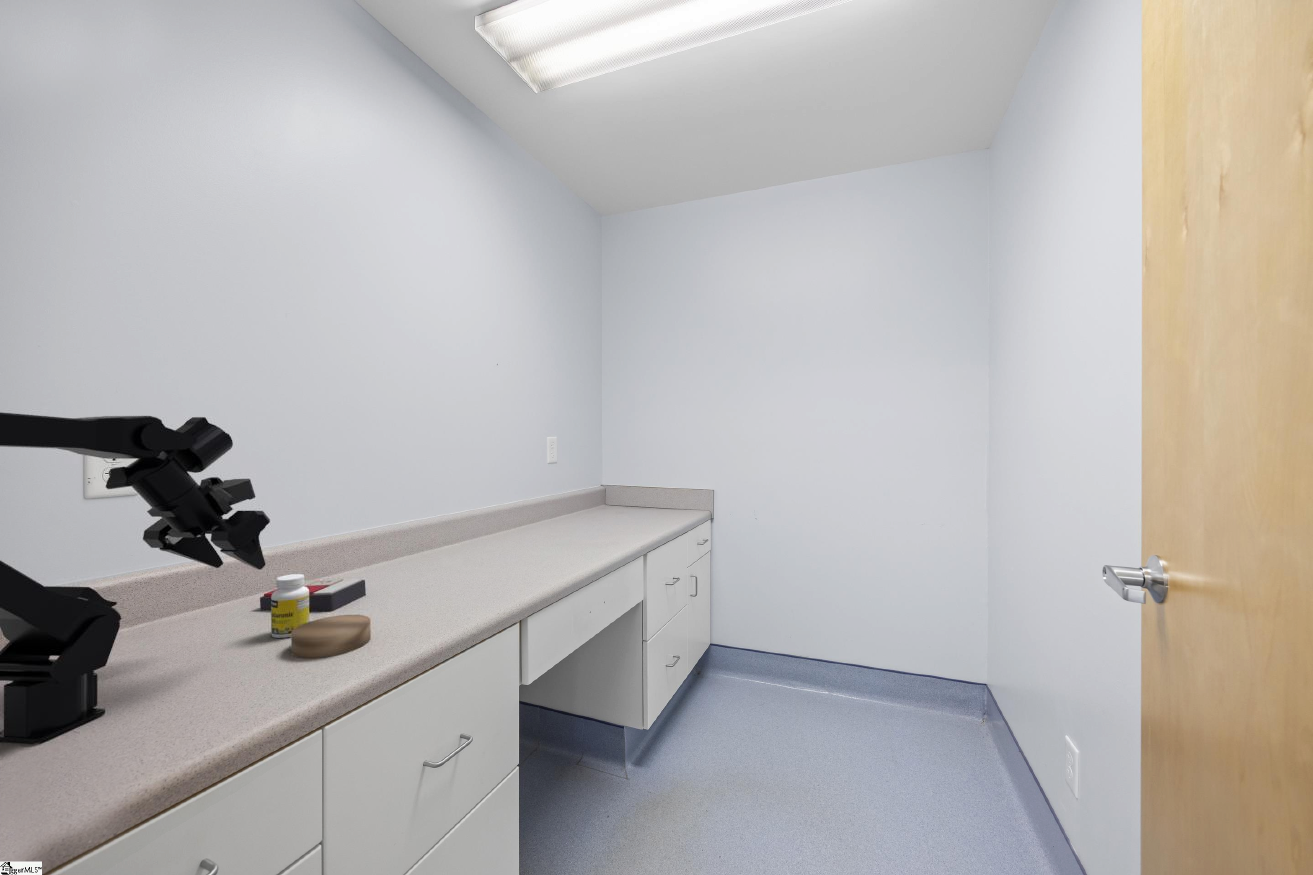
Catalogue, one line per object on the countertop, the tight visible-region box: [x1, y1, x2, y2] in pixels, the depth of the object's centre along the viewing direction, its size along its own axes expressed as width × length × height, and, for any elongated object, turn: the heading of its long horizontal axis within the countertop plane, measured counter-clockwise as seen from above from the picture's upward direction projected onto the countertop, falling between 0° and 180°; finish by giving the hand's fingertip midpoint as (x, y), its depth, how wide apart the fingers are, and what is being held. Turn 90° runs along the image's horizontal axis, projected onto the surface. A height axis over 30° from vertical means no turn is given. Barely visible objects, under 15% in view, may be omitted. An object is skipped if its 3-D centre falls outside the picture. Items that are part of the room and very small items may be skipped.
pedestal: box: [290, 614, 372, 659], centre depth 85 cm, size 11×11×3 cm
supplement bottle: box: [270, 573, 310, 639], centre depth 90 cm, size 5×5×10 cm
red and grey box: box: [259, 578, 367, 613], centre depth 107 cm, size 11×4×15 cm
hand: (241, 566), depth 83 cm, fingers open, 9 cm apart
